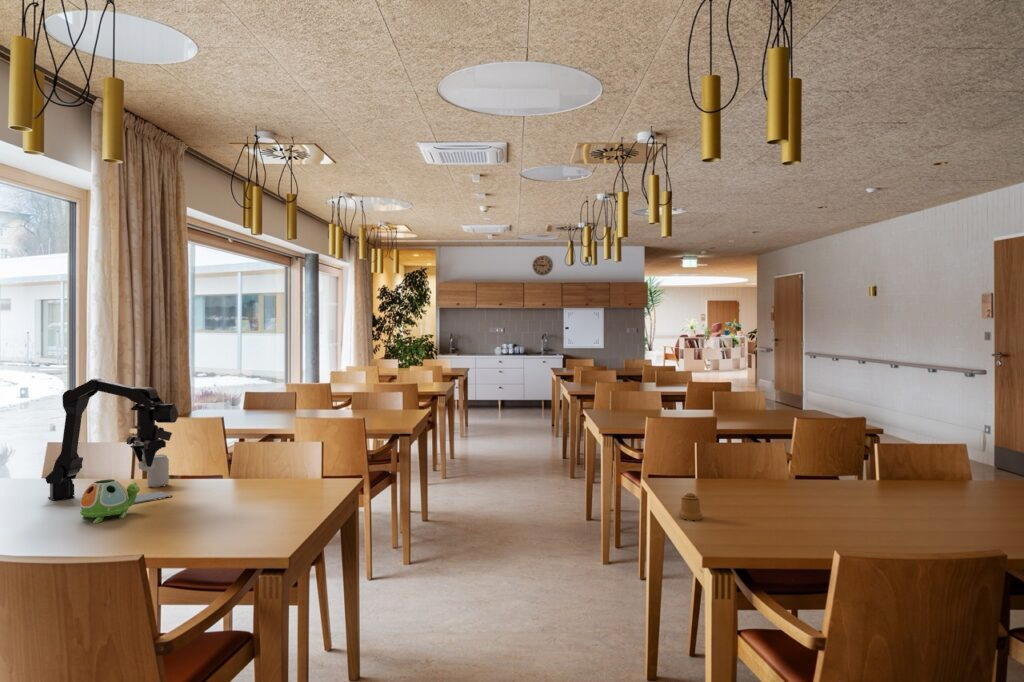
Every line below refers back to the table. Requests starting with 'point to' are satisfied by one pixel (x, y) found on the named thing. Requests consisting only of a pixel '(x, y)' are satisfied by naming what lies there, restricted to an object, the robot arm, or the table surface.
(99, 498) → the turtle holder
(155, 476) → the can
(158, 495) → the grey mat
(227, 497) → the table surface
